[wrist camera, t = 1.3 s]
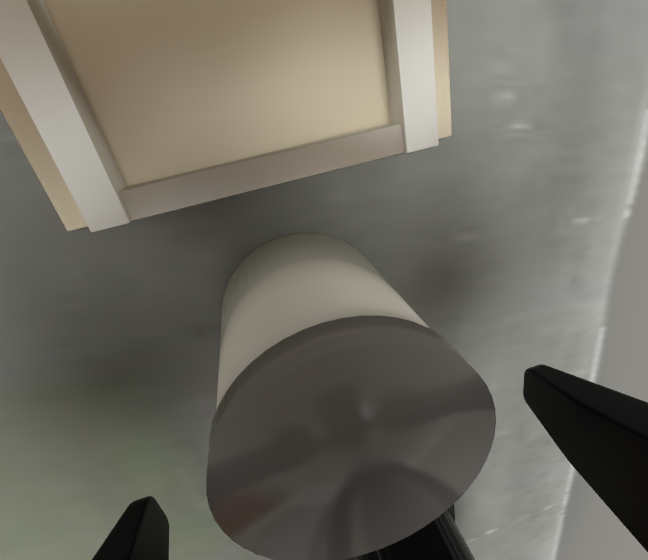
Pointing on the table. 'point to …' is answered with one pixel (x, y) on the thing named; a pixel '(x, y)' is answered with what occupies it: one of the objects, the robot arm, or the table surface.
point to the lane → (214, 95)
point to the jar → (335, 408)
